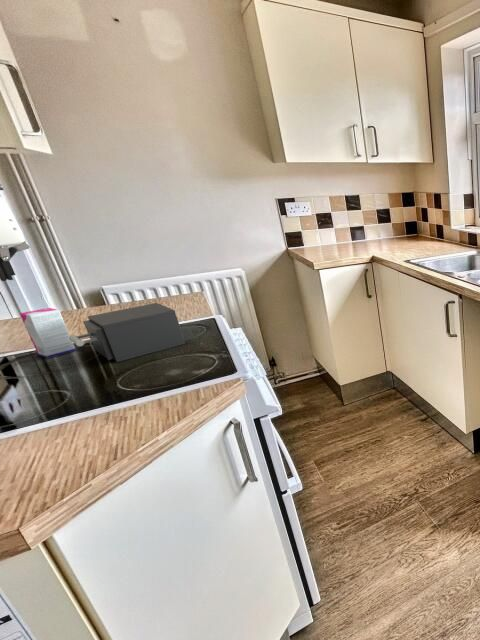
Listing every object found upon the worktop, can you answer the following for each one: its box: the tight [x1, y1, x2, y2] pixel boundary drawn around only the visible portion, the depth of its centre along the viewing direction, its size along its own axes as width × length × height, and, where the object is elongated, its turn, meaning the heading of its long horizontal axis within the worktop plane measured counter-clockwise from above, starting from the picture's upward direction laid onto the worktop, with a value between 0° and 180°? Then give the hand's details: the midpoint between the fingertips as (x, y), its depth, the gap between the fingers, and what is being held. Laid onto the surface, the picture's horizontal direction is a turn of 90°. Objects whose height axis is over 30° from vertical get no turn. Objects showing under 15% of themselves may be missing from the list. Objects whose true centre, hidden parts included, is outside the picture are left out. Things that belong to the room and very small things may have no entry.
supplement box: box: [19, 307, 76, 359], centre depth 109 cm, size 6×6×12 cm
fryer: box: [87, 302, 186, 363], centre depth 111 cm, size 15×14×10 cm
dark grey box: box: [69, 319, 114, 361], centre depth 108 cm, size 17×12×8 cm
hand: (6, 279), depth 91 cm, fingers closed
